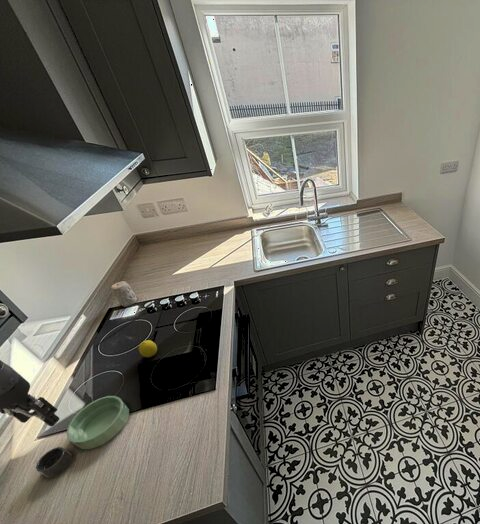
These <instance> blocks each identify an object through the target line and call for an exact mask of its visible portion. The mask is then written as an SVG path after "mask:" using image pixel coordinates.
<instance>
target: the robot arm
mask: <svg viewBox="0 0 480 524" xmlns="http://www.w3.org/2000/svg"><path fill="white" fill-rule="evenodd" d="M30 389H31V383H30V382H29V381H28V380H27V379H26V378H24V377H23V376H22V375H21V374H20V373H19V372H17V371H16V370H15V369H14V368H13V367H12V366H10V365H9V364H8V363H5V362H4V361H3V360H2V359H0V414H3V415H5V414H7V415H8V416H9V417H14V418H15V419H17V420H18V421H19V422H20V423H27V422H28V421H29V420H30V419H31V418H33V417H34V418H37V419H39V420H40V421H42V422H43V423H44V424H46V425H47V426H48V427H54V426H56V424H57V423H58V422H59V421H60V417H59V416H58V415H57V414H55V413H57V411H58V408H57V407H55V406H54V405H53V404H51V403H50V402H49V401H48V400H47V399H45V397H43V396H39V397H38V398H36V396H35V395H33V394H30V393H29V391H30Z"/></svg>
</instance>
